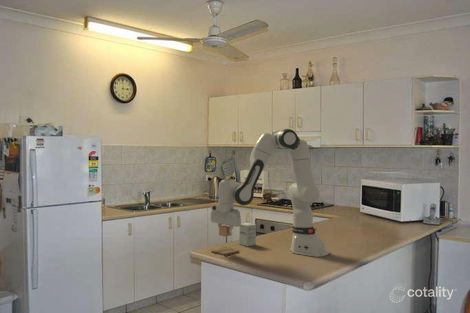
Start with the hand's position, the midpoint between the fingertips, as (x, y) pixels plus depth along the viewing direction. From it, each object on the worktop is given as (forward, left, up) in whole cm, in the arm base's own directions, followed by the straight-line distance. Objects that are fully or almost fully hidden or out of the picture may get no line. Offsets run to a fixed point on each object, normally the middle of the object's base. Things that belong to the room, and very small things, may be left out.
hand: (225, 232), depth 229 cm
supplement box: (+3, -23, -12) cm, 26 cm away
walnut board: (0, 0, -11) cm, 11 cm away
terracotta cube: (0, 0, -2) cm, 2 cm away
